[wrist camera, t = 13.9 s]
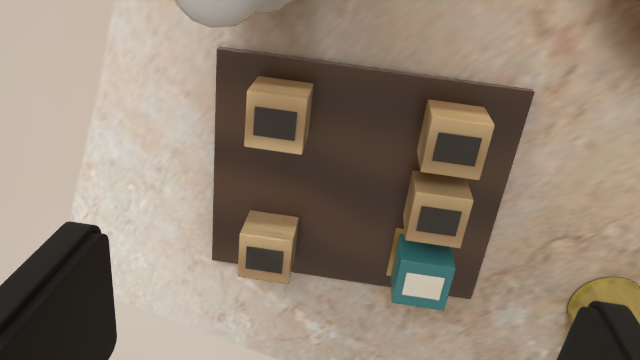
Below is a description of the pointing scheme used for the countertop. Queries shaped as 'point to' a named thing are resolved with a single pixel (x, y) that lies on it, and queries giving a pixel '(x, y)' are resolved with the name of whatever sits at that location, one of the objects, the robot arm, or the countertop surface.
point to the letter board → (351, 164)
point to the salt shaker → (226, 10)
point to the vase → (607, 295)
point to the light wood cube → (278, 114)
